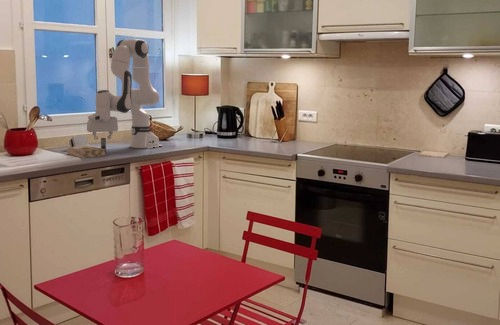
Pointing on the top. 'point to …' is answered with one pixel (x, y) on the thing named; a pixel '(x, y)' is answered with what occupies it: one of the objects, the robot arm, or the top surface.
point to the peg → (103, 143)
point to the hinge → (79, 141)
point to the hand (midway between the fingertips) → (102, 139)
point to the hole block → (86, 151)
